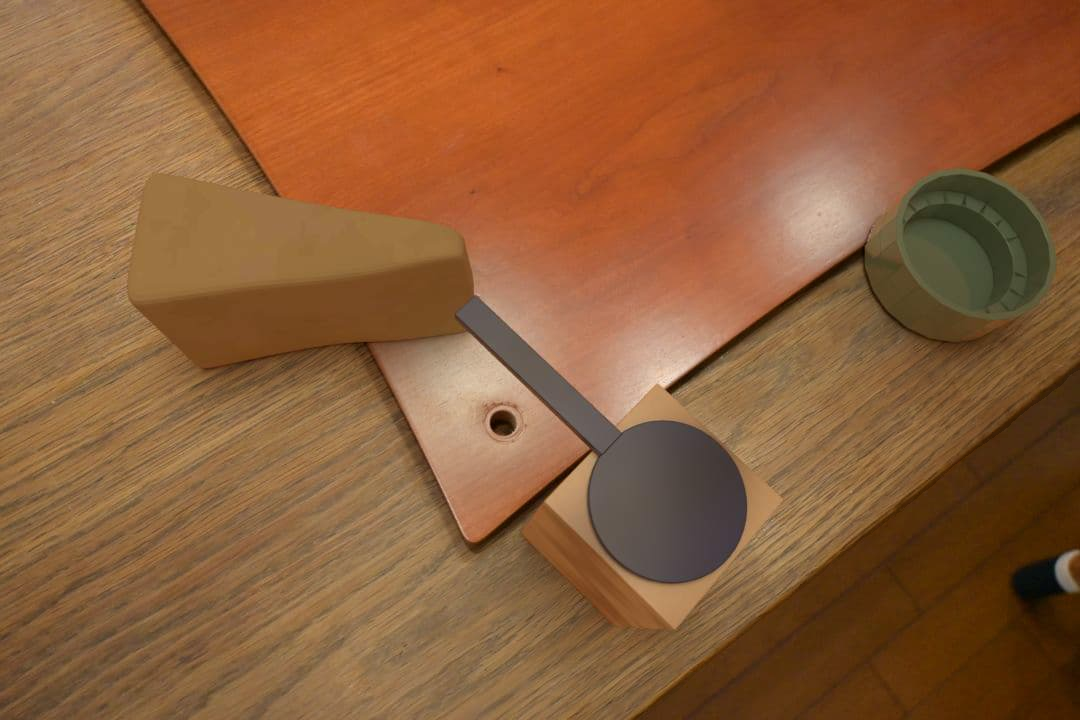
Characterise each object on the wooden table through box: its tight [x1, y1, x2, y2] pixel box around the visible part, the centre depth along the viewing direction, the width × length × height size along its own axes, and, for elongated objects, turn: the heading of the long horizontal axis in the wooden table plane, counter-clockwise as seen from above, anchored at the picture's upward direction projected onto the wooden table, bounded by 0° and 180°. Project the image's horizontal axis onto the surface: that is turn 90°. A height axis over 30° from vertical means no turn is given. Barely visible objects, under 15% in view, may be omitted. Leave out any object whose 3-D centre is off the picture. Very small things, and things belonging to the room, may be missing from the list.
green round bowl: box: [864, 167, 1058, 343], centre depth 69 cm, size 14×14×6 cm
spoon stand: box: [455, 294, 785, 631], centre depth 54 cm, size 21×10×19 cm, turn 47°
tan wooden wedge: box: [126, 172, 475, 369], centre depth 58 cm, size 22×10×15 cm, turn 91°
